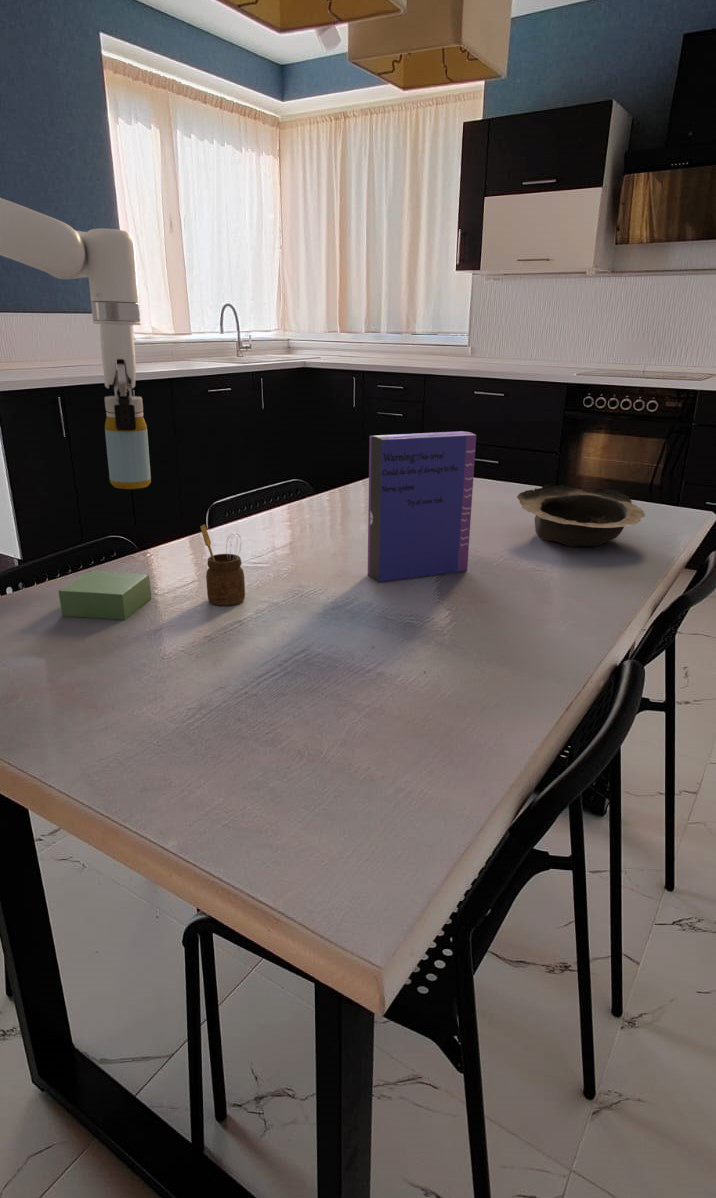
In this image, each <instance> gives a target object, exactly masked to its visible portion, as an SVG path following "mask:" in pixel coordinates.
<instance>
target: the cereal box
mask: <svg viewBox="0 0 716 1198" xmlns="http://www.w3.org/2000/svg"><path fill="white" fill-rule="evenodd" d="M368 441H369V443H368V444H369V449H368V451H369V452H368V454H369V455H368V513H367V515H368V517H367V520H368V521H367V532H368V533H367V576H368V577H369V578H371V579H373V580H374V581H376V582H377V583H378V584H380V583H387V582H395V581H404V580H412V579H419V578H428V577H435V576H444V575H450V574H459V573H466V572H468V563H469V549H470V535H471V521H472V519H471V518H472V505H473V491H474V490H473V489H474V478H475V477H474V475H475V462H476V461H475V460H476V448H477V447H476V445H477V434H475V433H473V432H470V431H462V430H460V431H441V432H440V431H439V432H422V433H421V432H420V433H419V432H418V433H401V434H400V433H399V434H379V435H369V440H368Z"/></svg>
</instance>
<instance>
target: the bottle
mask: <svg viewBox="0 0 716 1198" xmlns="http://www.w3.org/2000/svg"><path fill="white" fill-rule="evenodd" d="M118 401H119V397H118ZM132 403H133V405H134V409H135V422H136V429H135V430H117V429H116V420H115V409H114V405H116V403H115V395H108V396H104V406H105V407H104V408H105V411H106V412H105V414H106V419H105V423H104V435H105V444H106V455H107V467H108V475H109V483H110V484H111V485H112V486H113V487H114V488H116V489H120V490H137V489H144V488H147V487H149V485H150V484H151V483H152V476H151V475H152V474H151V465H150V464H151V463H150V450H149V448H150V447H149V435H148V425H147V423H146V420H145V418H144V403H143V398H142V396H137V395H136V396H135V395H132Z"/></svg>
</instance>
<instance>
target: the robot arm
mask: <svg viewBox="0 0 716 1198" xmlns="http://www.w3.org/2000/svg"><path fill="white" fill-rule="evenodd" d="M0 257H4V258H6V259H9V260H13V261H16V262H18V263H21V264H23V265H26V266H29V267H31V268H34V269H37V270H40V271H41V272H44V273H47V274H48V275H50V276H52V277H53V278H56V279H59V280H75V279H76V280H77V279H84V278H85V279H86V278H88V285H89V295H90V304H91V305H90V306H91V314H92V315H91V317H92V323H93V325H99V331H100V349H101V350H100V351H101V359H102V360H101V361H102V369H103V370H102V371H103V379H104V380H103V381H104V387H105V388H106V389H110V386H113V392H114V396H115V403H116V405H114V409H115V420H116V429H117V430H135V429H136V422H135V409H134V405H133V403H132V396H133V392H132V391H133V389H134V388H135V387H136V369H137V368H136V367H137V365H136V345H135V333H134V326H141V325H142V323H141V312H140V311H141V310H140V299H139V287H138V286H139V285H138V273H137V259H136V246H135V239H134V238H133V236H132V234H131V233H130V232H128V231H126V230H122V229H118V228H117V229H116V228H92V229H89V230H88V231H81V230H76V229H74V228H73V227H72V226H71V225H69V224H67V223H66V222H63V221H62V220H59V219H57V218H54V217H52V216H49V215H48V214H45V213H42V212H39V211H37V210H34V209H31V208H29V207H26V206H23V205H21V204H18V203H16V202H13V201H11V200H7V199H4V198H2V197H0ZM118 397H119V401H118Z"/></svg>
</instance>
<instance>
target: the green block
mask: <svg viewBox="0 0 716 1198" xmlns="http://www.w3.org/2000/svg"><path fill="white" fill-rule="evenodd" d="M150 579H151V578H150V574H147V573H133V572H132V573H131V572H129V573H128V572H113V571H112V572H110V571H96V570H95V571H94V570H92V571H91V570H89V571H88V572H86V573H85V574H83V575H82V576H80V577H78V578H77V579H75V580H73V581H72V582H70V583H68V584H67V585H64V587H62V588H60V589H59V590H58V597H59V605H60V609H61V610H60V612H61V616H62V617H74V618H88V619H103V620H104V619H105V620H119V621H120V620H121V621H125V620H127V619H128V618H129V617H130V616H132V615H133V614H135V612H137V611H138V610H140V608H141V607H143V606H144V605H145V604H147V603H148V602H149V601H150V600H151V599H152V588H151V580H150Z"/></svg>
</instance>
